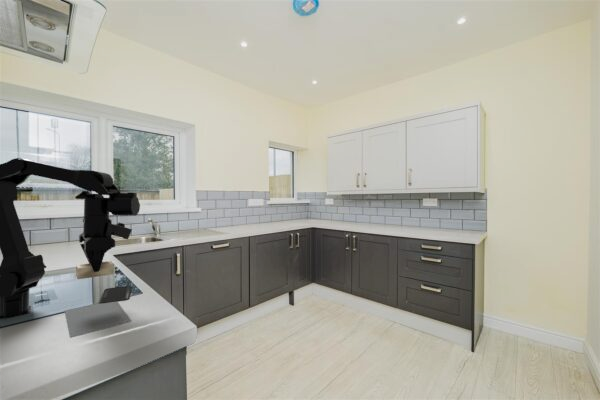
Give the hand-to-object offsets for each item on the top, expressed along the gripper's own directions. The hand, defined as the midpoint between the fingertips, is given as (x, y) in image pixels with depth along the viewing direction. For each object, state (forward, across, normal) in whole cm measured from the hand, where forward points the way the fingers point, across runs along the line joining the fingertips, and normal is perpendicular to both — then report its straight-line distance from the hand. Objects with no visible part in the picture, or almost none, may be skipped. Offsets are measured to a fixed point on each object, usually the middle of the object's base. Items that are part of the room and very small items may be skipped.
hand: (95, 269), depth 74 cm
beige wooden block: (+1, 0, 0) cm, 1 cm away
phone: (+12, +10, -7) cm, 17 cm away
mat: (+12, -6, 0) cm, 13 cm away
